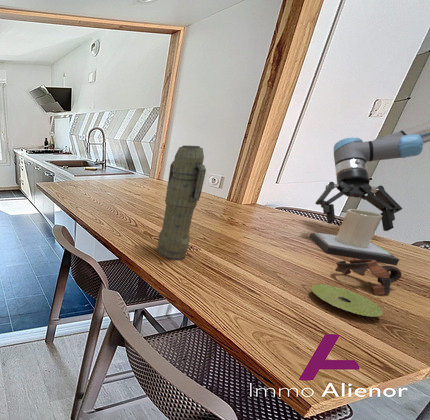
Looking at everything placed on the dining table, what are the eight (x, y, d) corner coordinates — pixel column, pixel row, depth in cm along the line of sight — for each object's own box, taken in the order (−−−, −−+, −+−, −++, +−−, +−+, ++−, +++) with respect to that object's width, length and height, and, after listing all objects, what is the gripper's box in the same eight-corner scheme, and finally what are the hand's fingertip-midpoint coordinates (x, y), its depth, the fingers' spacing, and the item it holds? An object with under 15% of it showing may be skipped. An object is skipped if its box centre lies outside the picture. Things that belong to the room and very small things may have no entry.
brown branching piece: (365, 298, 61) (352, 265, 63) (331, 291, 71) (321, 262, 72) (423, 291, 59) (409, 257, 61) (381, 285, 68) (370, 255, 70)
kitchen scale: (368, 246, 87) (372, 239, 87) (396, 265, 76) (400, 257, 75) (309, 237, 95) (311, 231, 94) (326, 253, 83) (329, 245, 82)
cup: (360, 240, 86) (373, 211, 82) (373, 249, 80) (388, 218, 76) (331, 236, 89) (343, 208, 85) (341, 244, 83) (355, 214, 79)
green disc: (306, 284, 66) (308, 278, 65) (371, 303, 59) (374, 296, 58) (311, 307, 58) (314, 300, 57) (387, 331, 51) (391, 324, 50)
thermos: (166, 243, 88) (184, 144, 77) (195, 259, 78) (221, 147, 67) (147, 247, 85) (163, 145, 74) (175, 264, 75) (198, 148, 63)
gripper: (312, 165, 93) (315, 214, 85) (411, 171, 82) (426, 227, 74) (301, 177, 99) (304, 223, 91) (393, 183, 88) (404, 237, 80)
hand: (358, 225), depth 82 cm, fingers open, 13 cm apart
